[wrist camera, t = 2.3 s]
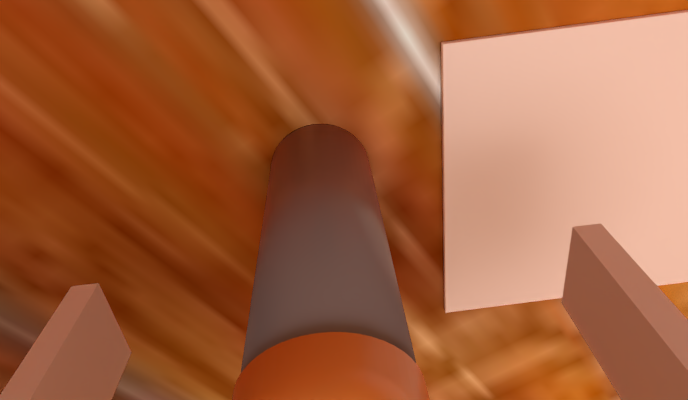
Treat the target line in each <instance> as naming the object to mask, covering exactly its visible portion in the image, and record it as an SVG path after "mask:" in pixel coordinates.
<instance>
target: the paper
mask: <svg viewBox="0 0 688 400" xmlns="http://www.w3.org/2000/svg"><path fill="white" fill-rule="evenodd" d="M441 89H442V170H443V252H444V309H445V312H446V313H447V312H455V311H462V310H470V309H478V308H486V307H494V306H502V305H509V304H517V303H525V302H533V301H541V300H549V299H556V298H562V297H563V290H564V283H565V276H566V269H567V262H568V255H569V249H570V242H571V235H572V228H573V227H575V226H583V225H592V224H600V223H601V224H602V225H603V226H604V227H605V229H606V230H607V231H608V232H609V233H610V234H611V235H612V236H613V237H614V239H615V240H616V241H617V242H618V243H619V244H620V245H621V246H622V247H623V249H624V250H625V251H626V252H627V253H628V254H629V255H630V256H631V257H632V259H633V260H634V261H635V262H636V263H637V264H638V265H639V266H640V267H641V269H642V270H643V271H644V272H645V273H646V274H647V275H648V276H649V277H650V279H651V280H652V281H653V282H654V283H655V284H656V285H657V286H658V285H666V284H674V283H682V282H688V10H683V11H675V12H668V13H660V14H653V15H645V16H637V17H630V18H622V19H614V20H607V21H599V22H592V23H584V24H576V25H569V26H561V27H553V28H546V29H538V30H531V31H523V32H515V33H508V34H500V35H492V36H485V37H477V38H470V39H462V40H454V41H447V42H441Z"/></svg>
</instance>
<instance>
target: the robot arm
mask: <svg viewBox="0 0 688 400" xmlns="http://www.w3.org/2000/svg"><path fill="white" fill-rule="evenodd" d="M562 304H563V306H564V307H565V309H566V311H567V312H568V314H569V315H570V317H571V319H572V320H573V322H574V324H575V325H576V327H577V328H578V330H579V332H580V333H581V335H582V337H583V338H584V340H585V341H586V343H587V345H588V346H589V348H590V350H591V351H592V353H593V354H594V356H595V358H596V359H597V361H598V362H599V364H600V366H601V367H602V369H603V371H604V372H605V374H606V375H607V377H608V379H609V380H610V382H611V384H612V385H613V387H614V388H615V390H616V392H617V393H618V395H619V396H620V398H621V400H688V320H687V319H686V318H685V316H684V315H683V314H682V313H681V312H680V311H679V310H678V309H677V308H676V306H675V305H674V304H673V303H672V302H671V301H670V300H669V299H668V298H667V296H666V295H665V294H664V293H663V292H662V291H661V290H660V289H659V288H658V286H657V285H656V284H655V283H654V282H653V281H652V280H651V279H650V277H649V276H648V275H647V274H646V273H645V272H644V271H643V270H642V269H641V267H640V266H639V265H638V264H637V263H636V262H635V261H634V260H633V259H632V257H631V256H630V255H629V254H628V253H627V252H626V251H625V250H624V249H623V247H622V246H621V245H620V244H619V243H618V242H617V241H616V240H615V239H614V237H613V236H612V235H611V234H610V233H609V232H608V231H607V230H606V229H605V227H604V226H603V225H602V224H601V223H600V224H592V225H583V226H575V227H573V228H572V235H571V242H570V249H569V255H568V262H567V269H566V276H565V283H564V290H563V297H562ZM131 353H132V352H131V350H130V348H129V346H128V344H127V342H126V340H125V338H124V336H123V333H122V331H121V329H120V327H119V325H118V323H117V321H116V319H115V317H114V314H113V312H112V310H111V308H110V306H109V304H108V302H107V300H106V298H105V295H104V293H103V291H102V289H101V287H100V285H99V283H95V284H86V285H78V286H71V288H70V289H69V291H68V292H67V294H66V295H65V297H64V298H63V300H62V302H61V303H60V305H59V306H58V308H57V309H56V311H55V312H54V314H53V315H52V317H51V318H50V320H49V321H48V323H47V324H46V326H45V327H44V329H43V330H42V332H41V333H40V335H39V337H38V338H37V340H36V341H35V343H34V344H33V346H32V347H31V349H30V350H29V352H28V353H27V355H26V356H25V358H24V359H23V361H22V362H21V364H20V365H19V367H18V369H17V370H16V372H15V373H14V375H13V376H12V378H11V379H10V381H9V382H8V384H7V385H6V387H5V388H4V390H3V391H2V393H1V394H0V400H112V397H113V395H114V393H115V390H116V388H117V386H118V383H119V381H120V379H121V376H122V374H123V371H124V369H125V367H126V364H127V362H128V360H129V357H130V355H131Z"/></svg>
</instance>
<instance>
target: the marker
mask: <svg viewBox="0 0 688 400" xmlns="http://www.w3.org/2000/svg"><path fill="white" fill-rule="evenodd" d="M232 400H430V399H429V395H428V391H427V387H426V383H425V379H424V377H423V374H422V372H421V370H420V368H419V367H418V365H417V364H416V360H415V356H414V352H413V348H412V343H411V339H410V335H409V330H408V326H407V322H406V318H405V313H404V309H403V305H402V300H401V296H400V292H399V288H398V283H397V279H396V275H395V271H394V266H393V262H392V258H391V253H390V249H389V245H388V241H387V236H386V232H385V228H384V224H383V219H382V215H381V211H380V206H379V202H378V198H377V194H376V189H375V185H374V181H373V177H372V172H371V168H370V164H369V159H368V156H367V153H366V151H365V149H364V147H363V145H362V144H361V143H360V141H359V140H358V139H357V138H356V137H355V136H354V135H352V134H351V133H349V132H348V131H346V130H344V129H342V128H340V127H337V126H333V125H328V124H313V125H308V126H304V127H301V128H299V129H297V130H295V131H293V132H292V133H290V134H289V135H287V136H286V137H285V138H284V139H283V140H282V141H281V142H280V144H279V145H278V147H277V148H276V150H275V152H274V155H273V158H272V163H271V170H270V176H269V183H268V190H267V197H266V204H265V211H264V218H263V224H262V231H261V238H260V245H259V252H258V259H257V266H256V272H255V279H254V286H253V293H252V300H251V307H250V313H249V320H248V327H247V334H246V341H245V348H244V355H243V361H242V368H241V374H240V376H239V378H238V379H237V381H236V384H235V387H234V391H233V397H232Z"/></svg>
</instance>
